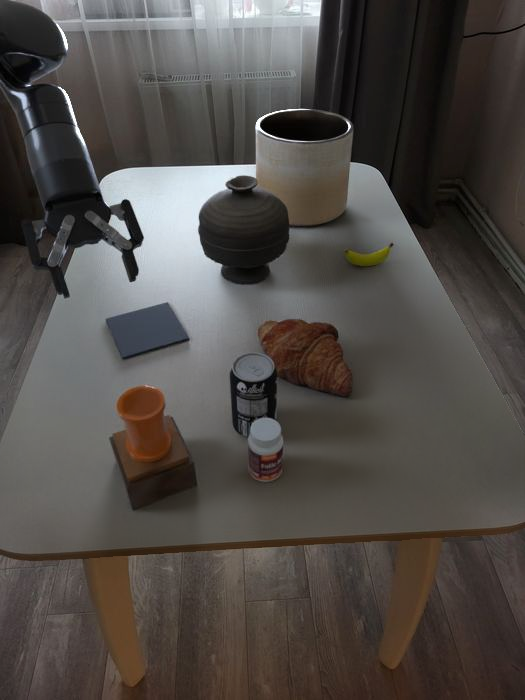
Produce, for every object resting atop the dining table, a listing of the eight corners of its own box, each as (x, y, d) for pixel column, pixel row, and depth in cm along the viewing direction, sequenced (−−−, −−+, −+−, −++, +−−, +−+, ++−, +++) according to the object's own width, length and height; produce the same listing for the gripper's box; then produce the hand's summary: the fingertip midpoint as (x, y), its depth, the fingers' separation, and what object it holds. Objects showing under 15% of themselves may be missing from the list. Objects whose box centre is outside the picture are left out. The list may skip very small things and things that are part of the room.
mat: (122, 359, 94) (122, 357, 94) (105, 320, 103) (105, 318, 102) (189, 340, 98) (189, 337, 98) (168, 303, 107) (167, 301, 106)
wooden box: (132, 510, 72) (124, 483, 68) (115, 460, 78) (107, 432, 74) (197, 485, 75) (193, 457, 71) (176, 439, 81) (171, 411, 77)
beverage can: (257, 402, 87) (256, 343, 79) (285, 427, 83) (287, 368, 75) (223, 422, 84) (219, 363, 76) (251, 449, 80) (249, 390, 72)
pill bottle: (263, 489, 75) (263, 449, 69) (241, 466, 77) (239, 426, 72) (289, 470, 77) (291, 430, 71) (267, 449, 80) (267, 409, 74)
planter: (271, 183, 147) (271, 104, 134) (353, 194, 142) (362, 113, 129) (243, 221, 131) (240, 136, 118) (335, 236, 126) (343, 148, 113)
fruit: (388, 260, 118) (392, 240, 115) (391, 266, 116) (395, 245, 113) (341, 264, 117) (344, 243, 114) (344, 269, 116) (346, 248, 112)
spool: (134, 468, 70) (123, 426, 65) (122, 436, 74) (111, 394, 69) (177, 452, 72) (171, 410, 67) (164, 422, 76) (156, 380, 71)
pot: (185, 286, 110) (181, 187, 98) (217, 249, 124) (217, 158, 112) (271, 304, 106) (278, 203, 94) (295, 263, 120) (303, 171, 108)
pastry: (245, 390, 89) (243, 352, 84) (259, 330, 100) (258, 294, 95) (351, 400, 87) (356, 363, 82) (352, 338, 99) (357, 302, 93)
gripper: (0, 166, 66) (41, 296, 66) (119, 147, 71) (157, 267, 70) (8, 191, 73) (45, 308, 73) (115, 172, 78) (151, 281, 77)
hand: (100, 288), depth 72 cm, fingers open, 8 cm apart
